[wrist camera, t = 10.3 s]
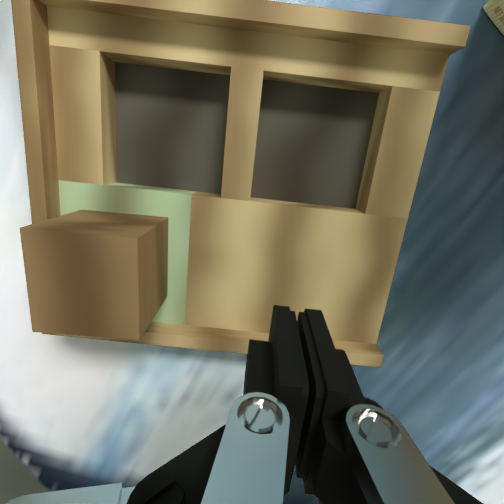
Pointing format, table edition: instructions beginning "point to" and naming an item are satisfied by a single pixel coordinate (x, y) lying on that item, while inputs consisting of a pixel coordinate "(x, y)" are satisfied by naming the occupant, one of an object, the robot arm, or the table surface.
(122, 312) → the block
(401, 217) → the tray
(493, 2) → the coffeecake box
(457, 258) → the table surface
